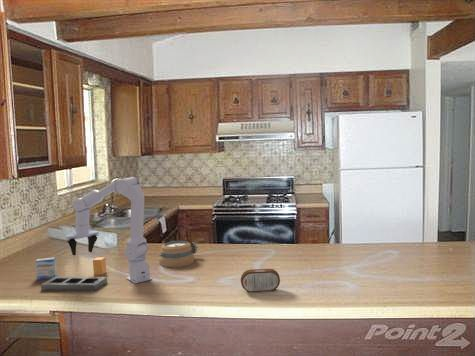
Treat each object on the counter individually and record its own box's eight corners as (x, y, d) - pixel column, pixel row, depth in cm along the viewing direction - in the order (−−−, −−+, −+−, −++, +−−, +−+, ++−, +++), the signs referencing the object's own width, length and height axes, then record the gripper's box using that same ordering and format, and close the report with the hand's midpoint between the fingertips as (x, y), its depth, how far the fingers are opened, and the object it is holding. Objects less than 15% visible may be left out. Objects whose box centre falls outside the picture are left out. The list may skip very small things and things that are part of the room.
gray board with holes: (107, 282, 175) (106, 276, 174) (95, 291, 165) (95, 285, 165) (55, 282, 179) (55, 276, 178) (41, 290, 169) (40, 284, 168)
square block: (106, 272, 190) (105, 257, 189) (102, 274, 186) (101, 259, 185) (98, 272, 190) (97, 257, 190) (93, 274, 186) (92, 259, 186)
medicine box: (36, 280, 182) (35, 261, 182) (38, 277, 187) (37, 258, 186) (55, 277, 185) (54, 259, 184) (57, 274, 189) (55, 256, 188)
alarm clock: (151, 247, 195) (174, 236, 217) (152, 266, 196) (175, 253, 217) (183, 249, 189) (204, 237, 211) (184, 268, 190) (204, 254, 212)
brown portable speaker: (279, 288, 159) (279, 267, 158) (280, 291, 156) (280, 269, 155) (241, 290, 158) (240, 269, 158) (241, 293, 155) (240, 272, 155)
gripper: (93, 220, 192) (93, 248, 194) (62, 224, 182) (62, 253, 183) (100, 223, 187) (100, 252, 189) (69, 227, 177) (69, 258, 178)
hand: (82, 253), depth 186 cm, fingers open, 7 cm apart
